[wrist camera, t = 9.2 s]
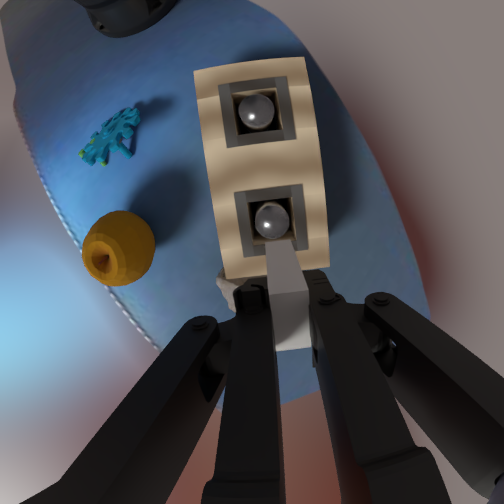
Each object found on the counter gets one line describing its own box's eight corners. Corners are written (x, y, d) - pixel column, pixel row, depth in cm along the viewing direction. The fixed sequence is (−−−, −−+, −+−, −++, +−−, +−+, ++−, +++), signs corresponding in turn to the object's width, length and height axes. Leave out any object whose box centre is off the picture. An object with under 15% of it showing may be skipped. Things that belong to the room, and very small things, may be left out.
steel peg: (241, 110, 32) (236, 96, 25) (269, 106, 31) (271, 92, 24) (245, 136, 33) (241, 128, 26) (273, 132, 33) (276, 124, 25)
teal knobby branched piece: (142, 94, 30) (124, 138, 26) (163, 122, 35) (152, 169, 31) (87, 127, 33) (65, 173, 29) (109, 149, 38) (92, 196, 34)
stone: (207, 288, 41) (199, 307, 35) (234, 245, 39) (230, 259, 33) (261, 319, 42) (261, 341, 37) (291, 280, 40) (296, 298, 35)
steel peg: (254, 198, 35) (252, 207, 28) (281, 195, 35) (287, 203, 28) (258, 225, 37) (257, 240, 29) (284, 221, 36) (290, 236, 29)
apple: (115, 266, 40) (76, 299, 29) (106, 207, 37) (59, 225, 26) (170, 265, 40) (140, 303, 29) (162, 201, 37) (125, 218, 26)
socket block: (207, 89, 32) (193, 70, 24) (295, 77, 31) (304, 56, 23) (232, 256, 39) (226, 279, 31) (316, 245, 38) (330, 266, 30)
